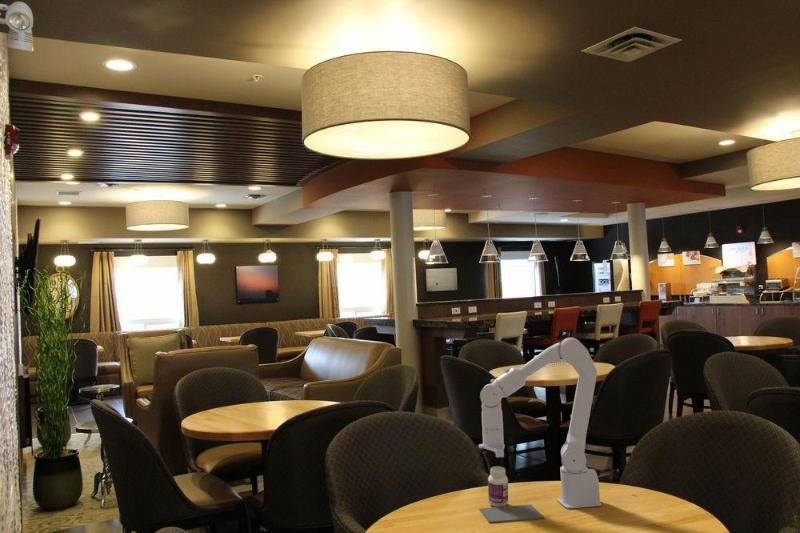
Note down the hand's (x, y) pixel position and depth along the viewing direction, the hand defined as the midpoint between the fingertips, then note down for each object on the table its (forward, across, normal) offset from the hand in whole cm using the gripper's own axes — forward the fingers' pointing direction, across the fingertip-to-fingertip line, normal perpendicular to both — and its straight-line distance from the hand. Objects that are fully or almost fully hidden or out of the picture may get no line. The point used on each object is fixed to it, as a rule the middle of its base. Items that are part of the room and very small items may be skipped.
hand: (494, 478), depth 183 cm
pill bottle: (+6, +2, 0) cm, 6 cm away
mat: (+7, +11, +1) cm, 13 cm away
